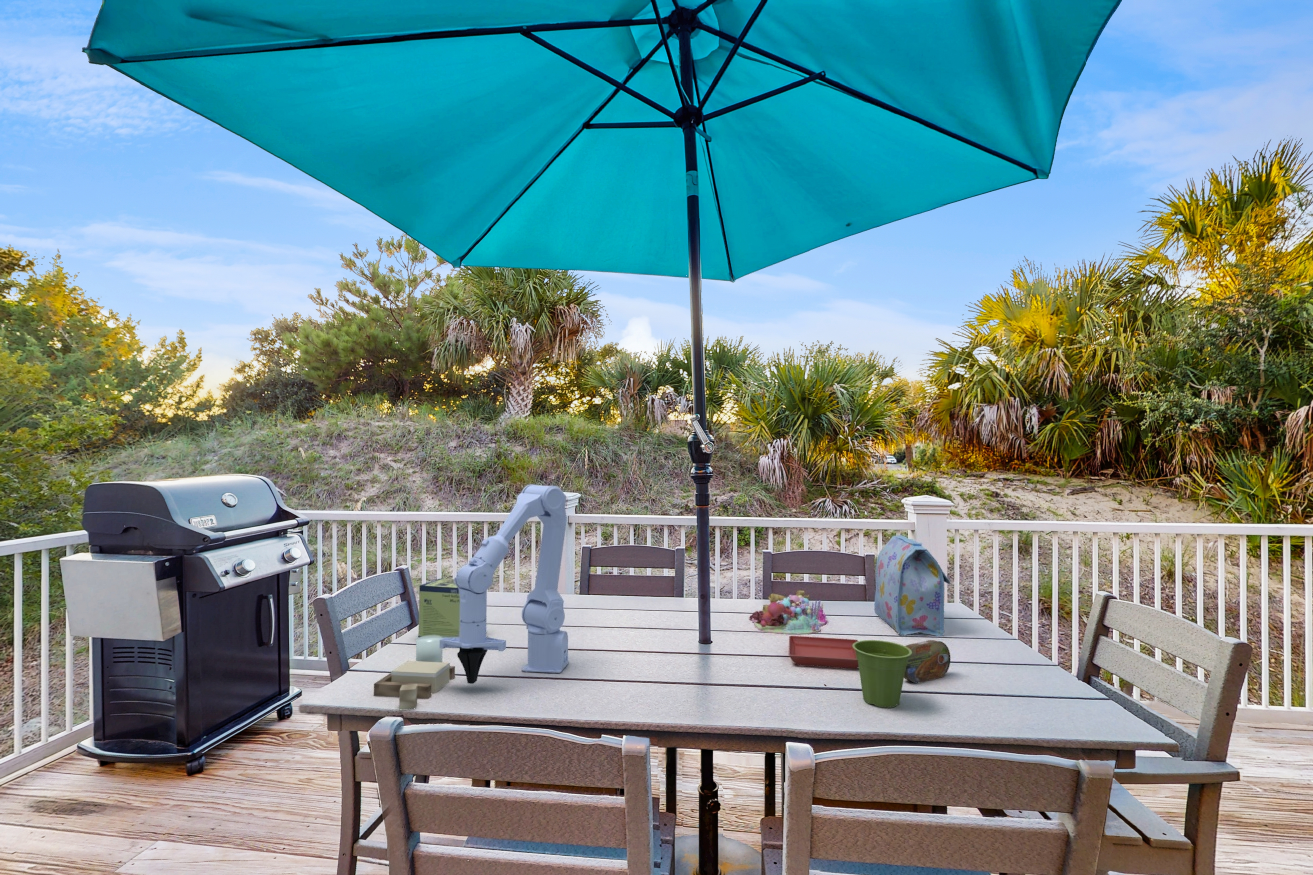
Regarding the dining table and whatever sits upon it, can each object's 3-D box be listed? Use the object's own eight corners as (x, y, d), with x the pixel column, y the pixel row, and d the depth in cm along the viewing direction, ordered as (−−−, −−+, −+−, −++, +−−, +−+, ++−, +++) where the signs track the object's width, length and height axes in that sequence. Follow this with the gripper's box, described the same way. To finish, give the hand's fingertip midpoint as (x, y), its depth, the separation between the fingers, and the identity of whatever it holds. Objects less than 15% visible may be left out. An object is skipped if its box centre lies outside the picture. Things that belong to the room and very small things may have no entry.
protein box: (469, 645, 172) (470, 587, 173) (417, 641, 176) (418, 584, 176) (487, 634, 183) (488, 580, 183) (437, 631, 186) (438, 577, 186)
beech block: (417, 703, 133) (417, 683, 133) (414, 708, 130) (415, 689, 130) (401, 704, 132) (401, 684, 132) (399, 710, 129) (399, 690, 129)
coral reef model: (741, 615, 208) (741, 586, 208) (811, 613, 211) (811, 585, 211) (763, 637, 183) (763, 604, 183) (842, 634, 186) (842, 602, 186)
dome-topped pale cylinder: (446, 664, 157) (446, 635, 158) (435, 672, 151) (435, 642, 152) (423, 662, 158) (423, 634, 158) (411, 671, 152) (411, 641, 152)
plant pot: (880, 716, 127) (880, 659, 127) (840, 695, 138) (840, 643, 138) (925, 707, 132) (924, 652, 132) (883, 688, 143) (883, 637, 143)
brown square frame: (454, 677, 148) (454, 666, 148) (428, 698, 135) (428, 686, 135) (404, 674, 150) (405, 663, 150) (373, 695, 137) (373, 683, 137)
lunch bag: (955, 637, 182) (955, 544, 183) (896, 637, 183) (896, 543, 183) (923, 617, 205) (923, 534, 206) (871, 616, 205) (870, 533, 206)
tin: (906, 685, 144) (906, 648, 145) (895, 681, 147) (895, 644, 147) (951, 675, 151) (951, 639, 152) (940, 671, 154) (940, 636, 154)
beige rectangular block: (449, 682, 145) (449, 662, 145) (435, 694, 138) (435, 673, 138) (407, 680, 147) (407, 660, 147) (391, 691, 140) (391, 671, 140)
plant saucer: (788, 646, 174) (788, 634, 175) (858, 651, 171) (858, 638, 171) (788, 668, 157) (788, 654, 157) (865, 673, 153) (865, 659, 153)
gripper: (433, 623, 138) (432, 686, 138) (498, 625, 136) (497, 690, 136) (447, 614, 145) (447, 675, 145) (509, 617, 143) (509, 678, 143)
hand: (472, 681), depth 141 cm, fingers closed
